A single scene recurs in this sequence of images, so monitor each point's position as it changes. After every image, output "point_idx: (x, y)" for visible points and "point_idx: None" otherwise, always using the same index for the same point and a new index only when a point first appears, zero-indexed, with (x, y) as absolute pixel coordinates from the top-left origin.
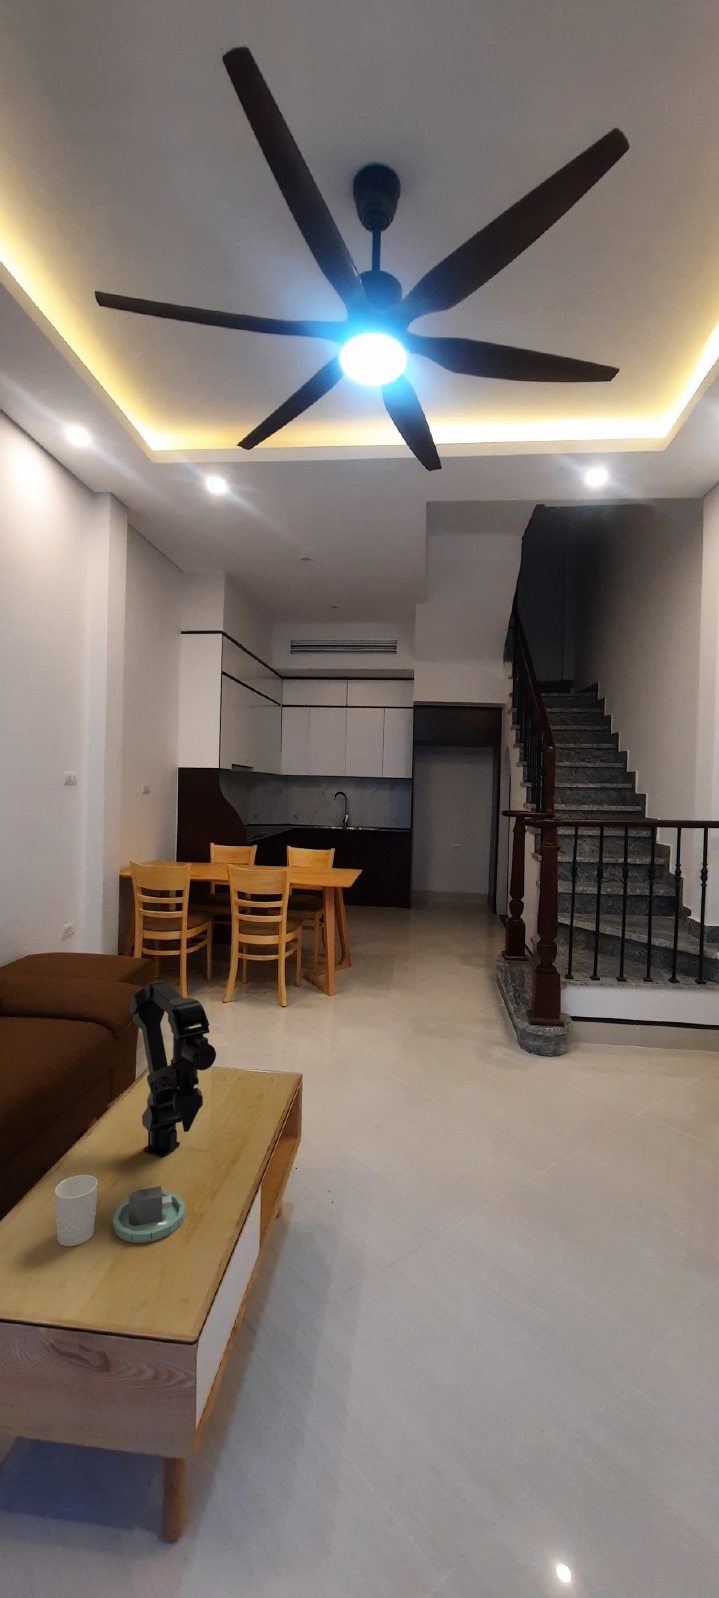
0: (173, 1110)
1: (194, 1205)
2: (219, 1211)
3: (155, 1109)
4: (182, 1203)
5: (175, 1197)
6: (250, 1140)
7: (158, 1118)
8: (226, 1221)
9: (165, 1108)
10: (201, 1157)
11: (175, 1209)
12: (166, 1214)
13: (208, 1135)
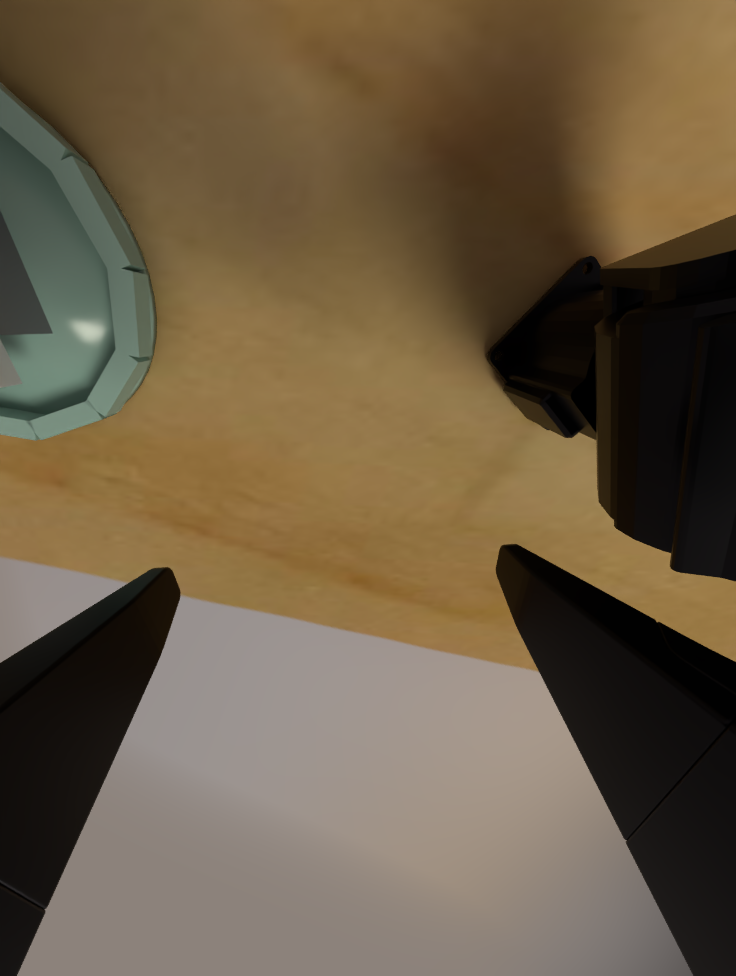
0: (633, 476)
1: (119, 462)
2: (87, 533)
3: (730, 302)
4: (45, 429)
5: (88, 402)
6: (462, 623)
7: (611, 338)
8: (33, 548)
9: (681, 419)
10: (424, 497)
11: (57, 396)
12: (15, 358)
13: (556, 523)
